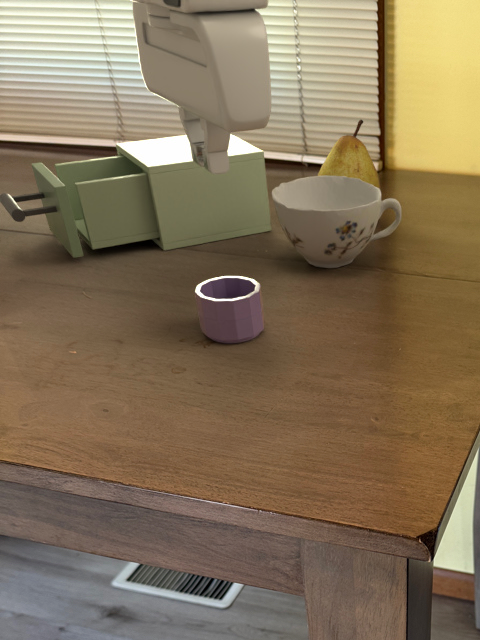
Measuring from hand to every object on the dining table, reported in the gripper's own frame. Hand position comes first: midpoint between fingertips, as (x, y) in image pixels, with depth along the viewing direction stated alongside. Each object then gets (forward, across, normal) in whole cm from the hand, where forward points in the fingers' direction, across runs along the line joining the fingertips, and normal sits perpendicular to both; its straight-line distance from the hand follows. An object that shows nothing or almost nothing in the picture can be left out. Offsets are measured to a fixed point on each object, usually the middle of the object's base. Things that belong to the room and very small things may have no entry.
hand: (211, 168), depth 66 cm
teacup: (+15, -12, +19) cm, 27 cm away
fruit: (+15, -24, +27) cm, 39 cm away
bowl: (+15, 0, 0) cm, 15 cm away
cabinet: (+15, -32, +9) cm, 37 cm away
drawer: (+14, -32, -5) cm, 35 cm away
